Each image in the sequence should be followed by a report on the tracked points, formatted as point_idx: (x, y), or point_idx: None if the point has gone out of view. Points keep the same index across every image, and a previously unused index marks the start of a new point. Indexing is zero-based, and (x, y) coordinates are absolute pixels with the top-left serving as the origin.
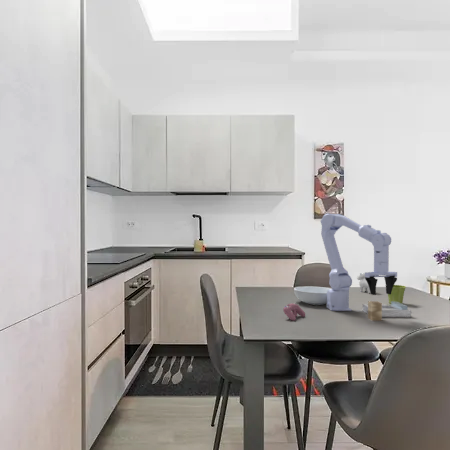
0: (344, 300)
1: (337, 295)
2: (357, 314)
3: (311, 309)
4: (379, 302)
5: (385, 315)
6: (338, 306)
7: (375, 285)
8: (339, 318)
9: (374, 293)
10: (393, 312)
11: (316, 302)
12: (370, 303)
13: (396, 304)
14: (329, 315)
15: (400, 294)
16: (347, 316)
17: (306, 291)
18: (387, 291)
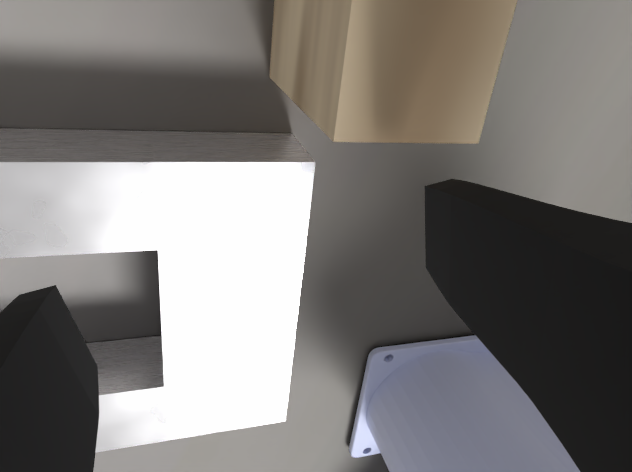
0: (473, 411)
1: (553, 447)
2: (388, 236)
3: None
4: (359, 35)
5: (147, 135)
6: (482, 369)
7: (619, 251)
8: (626, 78)
9: (470, 182)
10: (24, 148)
11: None
12: (493, 43)
13: None
14: (623, 187)
15: None
16: (517, 156)
17: None
18: (78, 382)
